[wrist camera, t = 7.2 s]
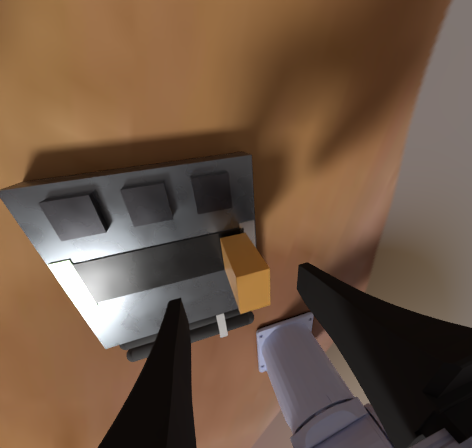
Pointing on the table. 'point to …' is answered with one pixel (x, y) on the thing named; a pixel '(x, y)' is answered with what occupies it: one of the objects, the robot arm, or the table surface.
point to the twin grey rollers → (192, 332)
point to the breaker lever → (246, 272)
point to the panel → (140, 238)
